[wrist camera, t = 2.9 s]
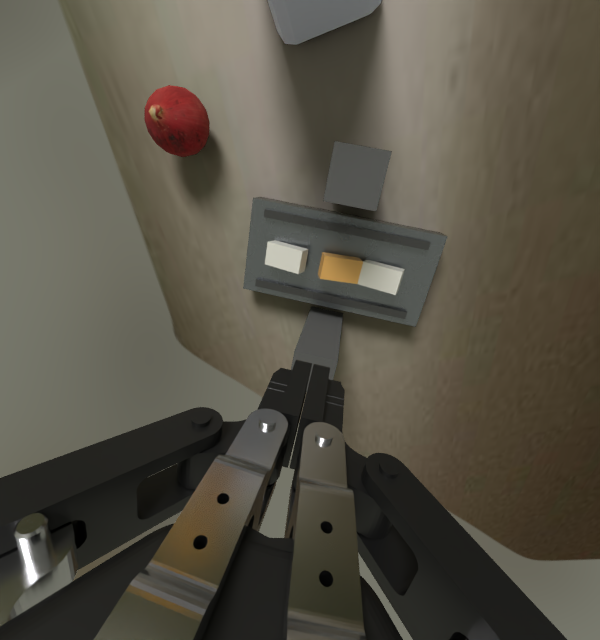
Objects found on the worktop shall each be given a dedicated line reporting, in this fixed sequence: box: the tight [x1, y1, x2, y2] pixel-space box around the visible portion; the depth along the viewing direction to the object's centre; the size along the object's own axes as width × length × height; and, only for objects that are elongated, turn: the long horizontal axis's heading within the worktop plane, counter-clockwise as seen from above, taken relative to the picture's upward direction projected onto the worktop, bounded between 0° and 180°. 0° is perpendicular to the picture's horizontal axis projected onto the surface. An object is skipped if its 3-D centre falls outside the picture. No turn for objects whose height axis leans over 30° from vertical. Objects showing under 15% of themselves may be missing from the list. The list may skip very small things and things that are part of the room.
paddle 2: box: [358, 260, 405, 295], centre depth 33 cm, size 4×2×2 cm, turn 79°
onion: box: [145, 85, 209, 157], centre depth 31 cm, size 6×6×8 cm
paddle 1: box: [265, 240, 309, 274], centre depth 34 cm, size 4×2×2 cm, turn 79°
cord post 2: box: [323, 141, 392, 211], centre depth 29 cm, size 4×4×12 cm
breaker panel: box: [243, 197, 447, 327], centre depth 36 cm, size 20×10×4 cm, turn 80°
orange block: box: [318, 252, 363, 284], centre depth 34 cm, size 4×2×2 cm, turn 80°
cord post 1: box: [291, 306, 343, 392], centre depth 36 cm, size 4×4×12 cm
